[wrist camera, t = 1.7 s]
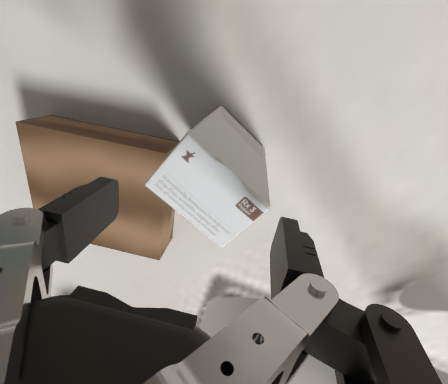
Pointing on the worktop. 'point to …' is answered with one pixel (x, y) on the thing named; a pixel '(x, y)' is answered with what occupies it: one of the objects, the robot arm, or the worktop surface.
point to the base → (101, 167)
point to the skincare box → (215, 178)
